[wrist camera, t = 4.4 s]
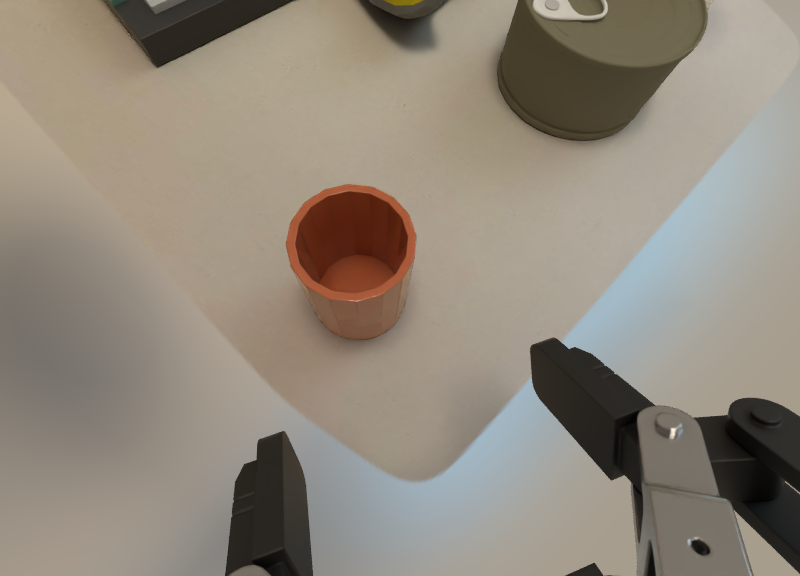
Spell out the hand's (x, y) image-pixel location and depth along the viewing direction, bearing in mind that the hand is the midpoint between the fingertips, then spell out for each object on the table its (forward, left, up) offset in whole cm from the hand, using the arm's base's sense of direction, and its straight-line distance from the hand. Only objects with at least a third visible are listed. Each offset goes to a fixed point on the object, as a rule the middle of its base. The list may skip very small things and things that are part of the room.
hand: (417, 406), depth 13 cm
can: (+27, +11, -12) cm, 31 cm away
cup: (+3, +7, -12) cm, 14 cm away
